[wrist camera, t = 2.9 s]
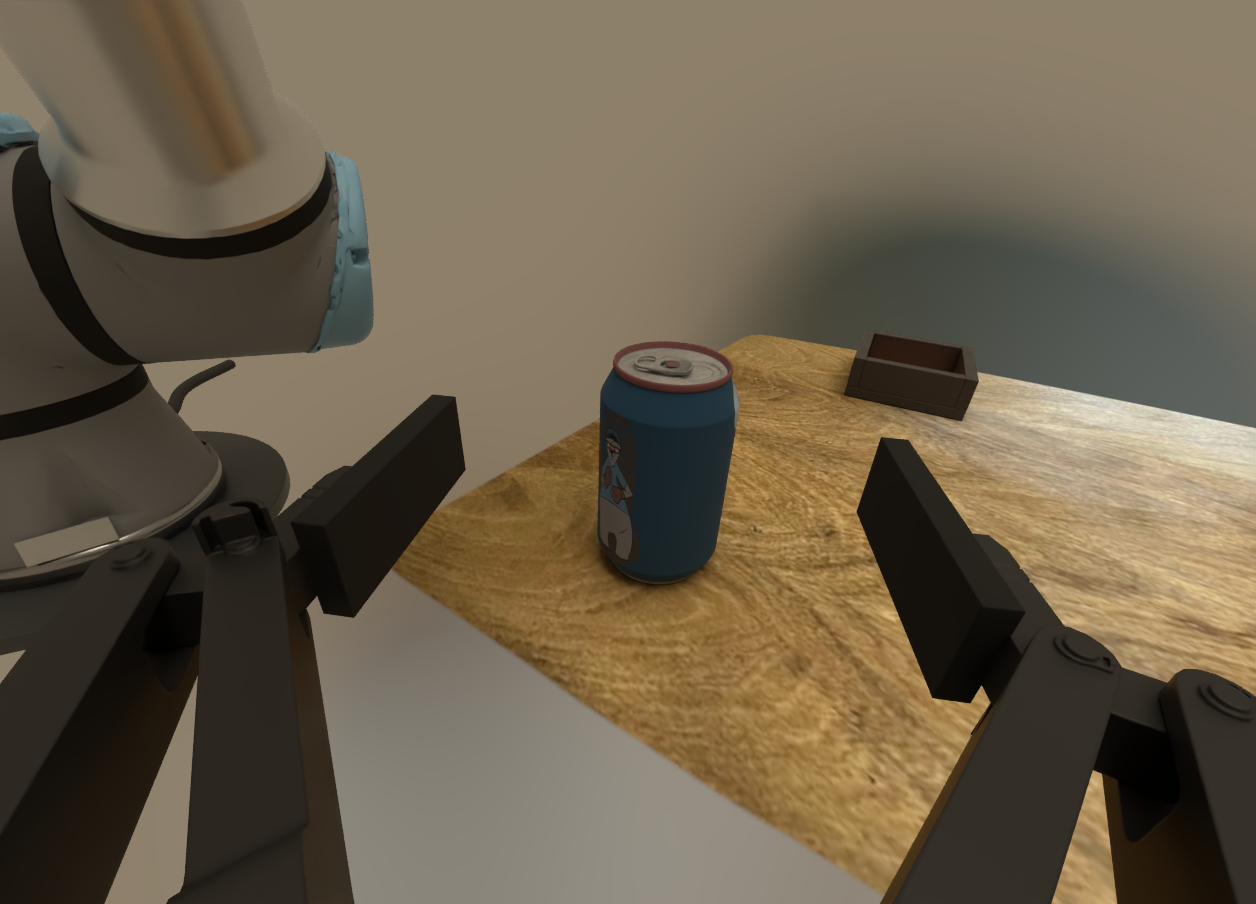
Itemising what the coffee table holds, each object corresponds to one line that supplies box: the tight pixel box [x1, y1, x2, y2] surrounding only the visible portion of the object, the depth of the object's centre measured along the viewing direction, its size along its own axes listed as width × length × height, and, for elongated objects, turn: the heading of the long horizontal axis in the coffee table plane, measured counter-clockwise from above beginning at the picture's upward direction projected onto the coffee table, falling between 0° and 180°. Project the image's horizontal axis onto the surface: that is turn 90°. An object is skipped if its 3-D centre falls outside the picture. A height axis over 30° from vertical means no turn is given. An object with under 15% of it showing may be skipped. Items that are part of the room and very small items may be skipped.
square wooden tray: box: [844, 329, 979, 420], centre depth 53 cm, size 10×10×4 cm
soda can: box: [598, 342, 740, 584], centre depth 28 cm, size 7×7×12 cm
